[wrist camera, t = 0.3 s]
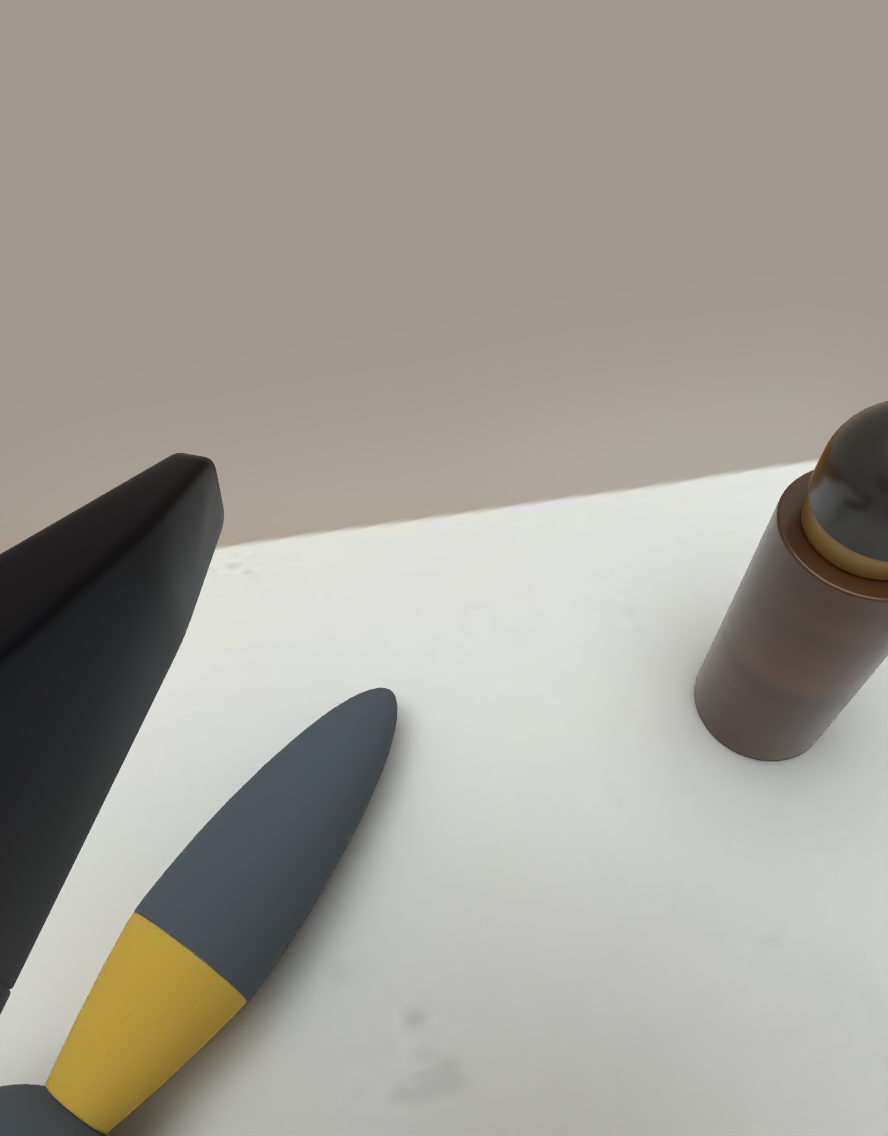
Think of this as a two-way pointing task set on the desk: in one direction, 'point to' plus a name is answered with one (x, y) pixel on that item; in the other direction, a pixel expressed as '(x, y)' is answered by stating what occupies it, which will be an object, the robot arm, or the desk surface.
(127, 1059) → the paintbrush
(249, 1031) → the desk surface
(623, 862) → the desk surface
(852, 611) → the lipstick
